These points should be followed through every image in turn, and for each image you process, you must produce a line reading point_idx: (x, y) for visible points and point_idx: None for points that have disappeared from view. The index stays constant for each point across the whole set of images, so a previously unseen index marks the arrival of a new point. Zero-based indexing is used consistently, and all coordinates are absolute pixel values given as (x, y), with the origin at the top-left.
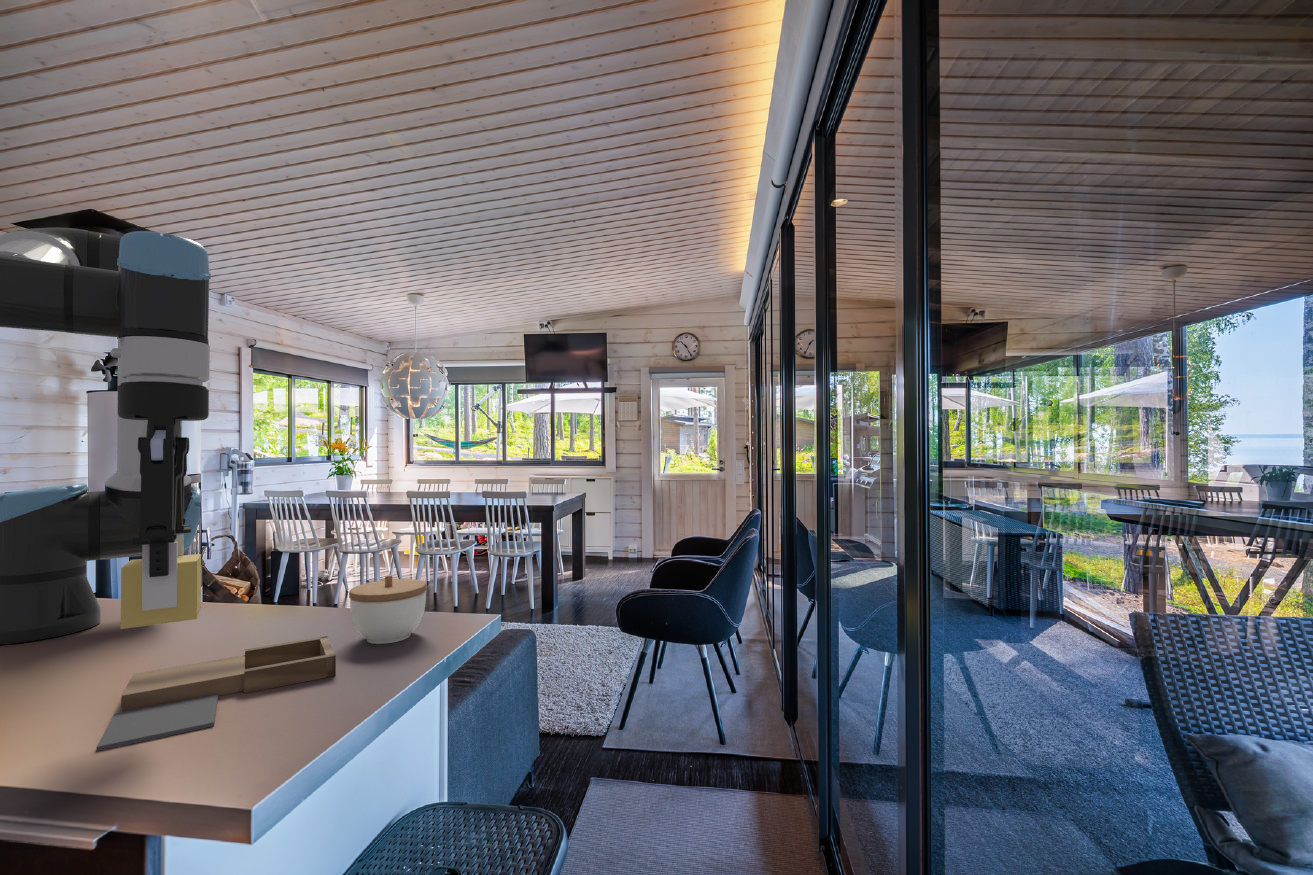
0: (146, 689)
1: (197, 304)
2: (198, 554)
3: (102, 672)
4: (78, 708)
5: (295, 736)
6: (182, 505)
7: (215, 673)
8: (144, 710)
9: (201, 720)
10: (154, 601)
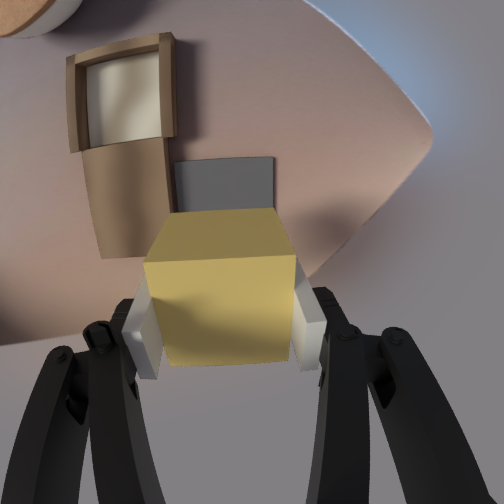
0: None
1: None
2: (151, 267)
3: (47, 285)
4: (140, 283)
5: (349, 91)
6: (58, 397)
7: (142, 172)
8: None
9: (259, 169)
10: None
